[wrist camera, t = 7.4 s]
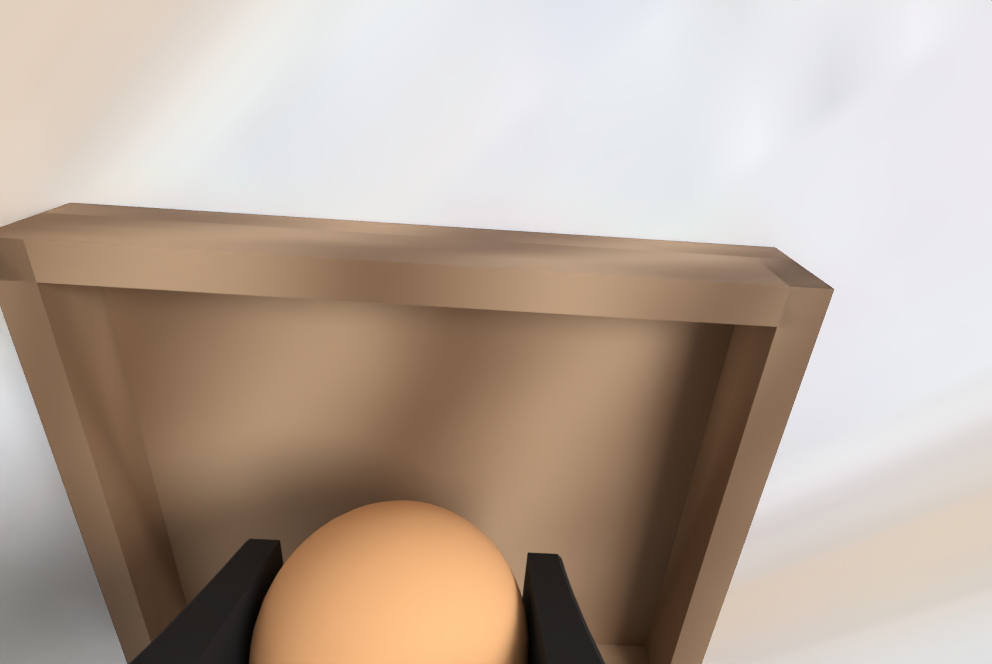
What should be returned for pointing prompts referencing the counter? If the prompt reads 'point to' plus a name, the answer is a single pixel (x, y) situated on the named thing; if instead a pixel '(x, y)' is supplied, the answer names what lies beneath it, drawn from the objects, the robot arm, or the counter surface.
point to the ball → (393, 594)
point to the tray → (409, 397)
